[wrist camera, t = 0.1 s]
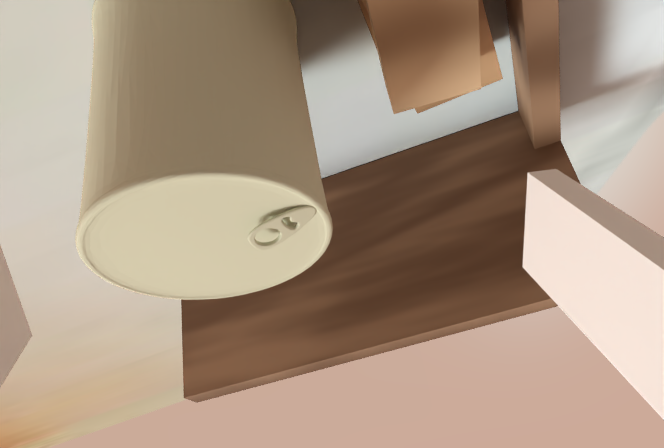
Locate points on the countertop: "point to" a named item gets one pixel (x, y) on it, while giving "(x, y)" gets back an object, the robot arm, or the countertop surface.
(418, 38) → the offcut stack
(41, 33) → the countertop surface
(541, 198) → the robot arm
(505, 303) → the rack
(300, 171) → the can
